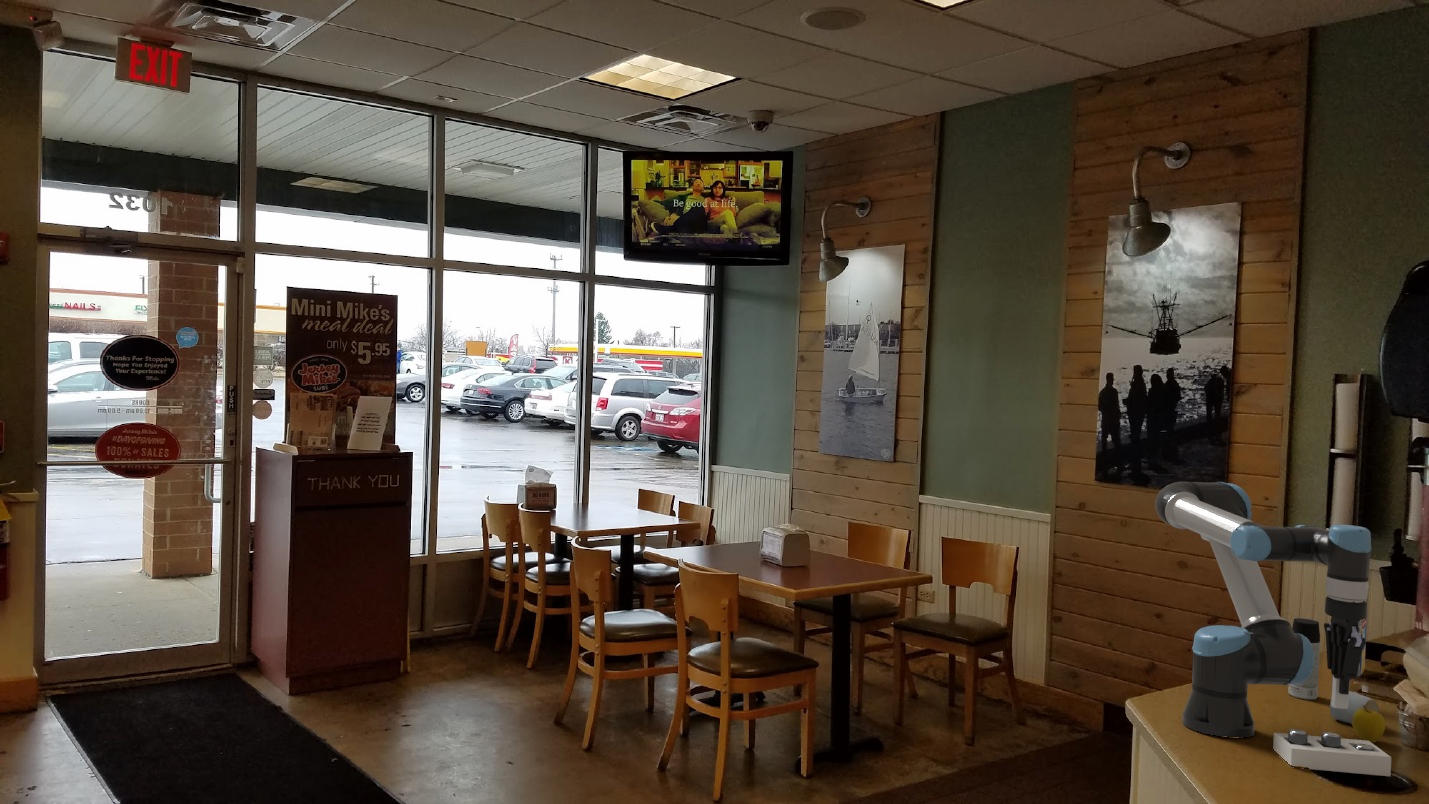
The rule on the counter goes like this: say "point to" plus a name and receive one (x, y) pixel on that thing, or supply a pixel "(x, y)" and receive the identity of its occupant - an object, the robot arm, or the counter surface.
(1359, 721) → the apple
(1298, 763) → the console
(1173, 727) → the counter surface
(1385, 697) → the counter surface
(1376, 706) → the ceramic mug
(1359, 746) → the knob
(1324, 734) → the knob mid
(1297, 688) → the spray can
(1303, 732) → the knob
